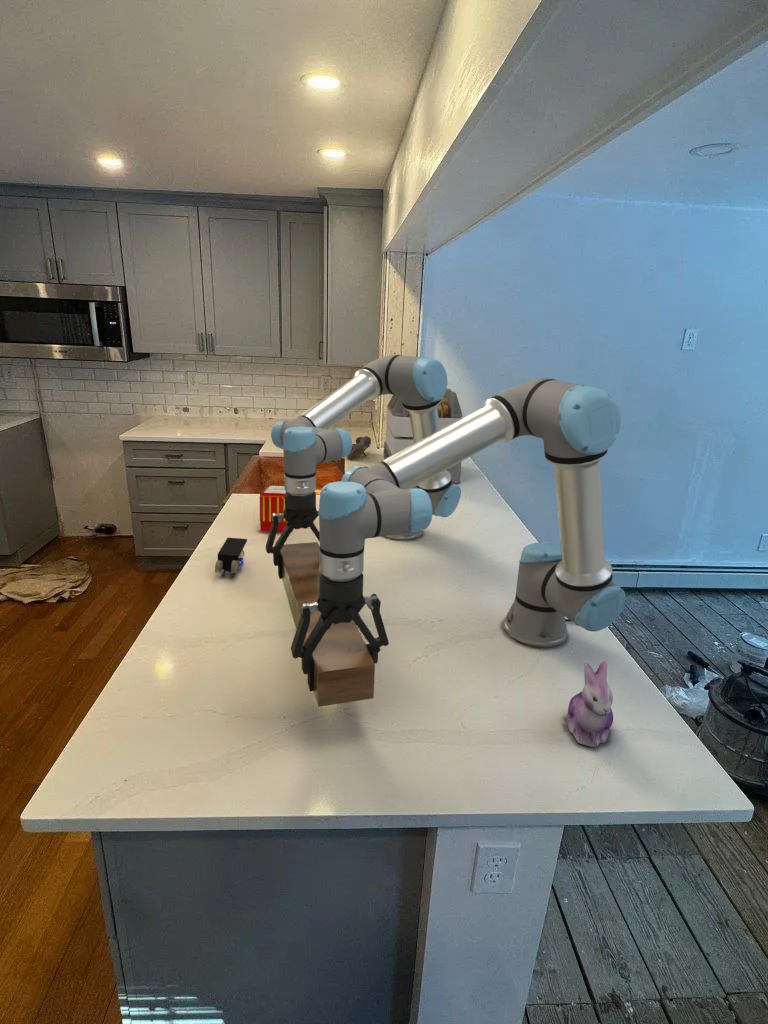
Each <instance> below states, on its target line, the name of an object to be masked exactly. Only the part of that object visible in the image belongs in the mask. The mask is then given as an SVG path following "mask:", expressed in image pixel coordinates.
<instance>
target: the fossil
mask: <svg viewBox="0 0 768 1024" xmlns="http://www.w3.org/2000/svg"><path fill="white" fill-rule="evenodd" d="M371 445H372V439H371V437H370V436H368V435H365V436H358V437H356V439H355V443H352V450H351V452H350V453H349V455H347V456H346V458H347V460H350V461H352V460H354V459H356V458H358V457H359V456H361V455H362V454H363V455H364V457H366V456H367V455H366V453H365V451H366V450H367V449H368V448H370V446H371Z"/></svg>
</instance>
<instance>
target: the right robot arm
mask: <svg viewBox="0 0 768 1024" xmlns="http://www.w3.org/2000/svg"><path fill="white" fill-rule="evenodd" d="M461 418H462V419H460V420H458V421H457V422H455V423H453V424H451V425H449V426H447V427H445V428H443V429H441V430H440V431H438V432H436V433H434V434H432V435H430V436H428V437H426V438H424V439H422V440H421V441H419V442H417V443H415V444H413V445H411V446H409V447H407V448H405V449H404V450H402V451H400V452H398V453H396V454H394V455H392V456H390V457H388V458H386V459H385V460H384V459H383V460H381V461H379V462H376V463H375V464H373V465H371V466H369V467H368V466H365V465H354V466H351V467H349V468H348V469H347V470H346V471H344V473H345V474H344V475H343V474H342V475H343V476H342V477H341V480H338V481H332V482H329V483H327V484H324V486H322V488H321V490H320V492H319V493H320V494H319V502H318V503H319V504H318V511H319V512H318V515H319V516H318V527H319V529H318V531H319V534H320V542H319V547H320V549H319V571H320V575H319V598H318V600H317V602H315V603H309V604H308V603H307V602H306V601H303V602H302V603H301V616H300V619H299V623H298V626H297V629H296V628H295V633H294V636H293V638H292V643H291V646H290V651H291V655H292V659H298V658H299V659H301V663H300V664H301V671H302V674H303V675H307V676H306V677H307V679H306V680H307V681H306V682H307V685H308V689H309V692H314V658H313V655H312V653H313V652H314V650H315V648H316V647H317V645H318V644H319V642H320V640H321V639H322V637H323V635H324V634H325V632H326V631H327V630H328V629H329V628H330V627H331V625H332V623H333V624H339V623H341V622H344V623H349V622H351V621H352V620H353V621H354V622H355V624H356V625H357V628H358V630H359V632H360V633H361V635H363V637H364V638H365V640H366V641H367V643H365V645H366V647H367V649H368V651H369V653H370V655H371V657H372V659H373V662H374V664H375V665H377V664H378V662H379V653H380V652H381V647H387V646H388V645H389V644H390V641H389V639H388V635H387V631H386V627H385V624H384V621H383V617H382V614H381V602H382V601H381V600H380V598H379V597H378V595H377V593H372V594H370V596H364V570H365V568H364V567H365V555H364V554H365V543H366V541H365V540H366V539H373V538H379V537H380V538H381V537H384V536H388V535H396V534H404V533H408V534H410V533H411V532H415V531H420V530H422V531H424V530H426V529H427V528H429V526H430V524H431V522H432V519H433V515H432V503H431V500H430V497H429V495H428V494H427V492H426V491H424V490H423V489H420V488H413V487H415V486H417V485H419V484H421V483H423V482H425V481H426V480H428V479H430V478H432V477H434V476H436V475H437V474H439V473H441V472H443V471H445V470H447V469H448V468H450V467H452V466H454V465H456V464H458V463H460V462H461V461H462V462H464V461H465V460H467V459H469V458H470V457H472V456H474V455H476V454H478V453H480V452H482V451H484V450H485V449H487V448H489V447H490V446H493V445H494V444H495V445H496V444H497V443H498V442H500V441H502V442H504V443H508V442H510V441H512V440H514V439H516V438H519V437H524V436H531V437H534V438H539V439H541V440H542V441H543V451H544V458H545V460H546V461H547V462H549V463H550V464H552V465H553V472H554V474H553V475H554V485H555V486H554V487H555V497H556V498H555V499H556V507H557V521H558V533H559V542H560V543H556V542H545V541H544V542H534V543H530V544H527V545H525V546H524V547H523V548H522V550H521V554H520V558H519V564H518V573H517V578H516V579H517V580H516V587H515V588H516V589H515V597H514V600H513V602H512V603H511V606H510V608H509V609H508V611H507V613H506V615H505V618H504V620H503V621H504V623H503V629H504V631H505V632H506V634H507V635H508V636H509V637H510V638H511V639H513V640H515V641H517V643H518V642H519V643H520V644H523V645H526V646H529V647H535V648H553V647H558V646H560V645H562V644H563V643H564V642H565V641H566V639H567V635H568V626H567V623H574V624H575V626H578V627H580V628H582V629H583V630H585V631H587V632H592V633H593V632H599V631H602V630H604V629H606V628H608V627H609V626H610V625H612V624H613V623H614V622H615V621H616V620H617V618H618V617H619V616H620V615H621V613H622V611H623V609H624V607H625V603H626V592H625V591H624V589H623V588H621V586H620V585H619V584H615V583H614V579H613V578H614V577H613V567H612V564H611V563H610V562H609V561H608V560H606V559H605V545H604V522H603V503H602V501H603V499H602V479H601V461H602V460H603V459H604V458H605V457H606V456H607V455H608V453H609V449H610V448H611V447H612V446H613V445H614V444H615V442H616V440H617V436H616V435H618V434H619V433H620V430H621V425H622V414H621V410H620V406H619V404H618V402H617V400H616V399H615V398H614V396H613V395H611V394H610V393H609V392H608V391H606V390H604V389H602V388H597V387H595V386H593V385H590V384H585V383H582V384H581V383H574V382H569V381H563V380H558V379H554V378H547V377H544V378H536V379H531V380H528V381H523V382H522V383H519V384H517V385H514V386H512V387H510V388H507V389H505V390H503V391H501V392H498V393H497V394H495V395H494V396H492V397H489V398H487V399H486V400H485V401H484V403H483V407H481V408H480V409H477V410H476V411H473V412H471V413H470V414H468V415H466V416H464V417H461ZM462 462H461V463H462ZM365 605H366V606H367V608H368V610H370V612H371V616H372V619H373V622H374V626H375V629H376V632H377V637H374V635H373V633H372V631H371V630H370V628H369V627H368V626H367V624H366V623H365V621H364V619H363V618H362V617H361V614H359V613H360V612H361V611H362V609H363V608H364V607H365ZM316 610H319V611H320V612H321V615H320V616H319V620H318V622H317V624H316V625H315V627H314V629H313V630H312V632H311V633H310V635H309V637H308V638H307V640H306V642H305V643H304V640H305V637H306V634H307V631H308V627H309V624H310V617H313V615H314V612H315V611H316ZM303 643H304V645H303ZM302 646H303V647H302Z"/></svg>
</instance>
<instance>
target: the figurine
mask: <svg viewBox="0 0 768 1024" xmlns="http://www.w3.org/2000/svg"><path fill="white" fill-rule="evenodd" d="M583 676H584V677H583V678H584V686H583V688H582V690H581V691H580V692H579V693H577V694H575V695H574V696H572V698H571V699H570V700H569V703H568V709H567V714H566V725H567V728H568V731H569V732H570V733H571V734H572V736H573V737H574V738H575V740H576V742H577V743H578V744H580V745H584V746H588V747H593V748H596V747H598V746H599V745H600V744H601V743H602V744H603V743H605V742H606V741H607V739H608V737H609V734H610V728H611V727H612V726H613V723H614V712H613V709H612V704H613V701H614V697H613V692H612V689H611V687H610V686H609V684H608V680H607V677H608V663H607V661H606V660H602V661H600V663H599V664H598V667H597V670H596V671H595V670H594V669H593V667H592V665H591V664H590V663H589V662H588V661H584V662H583Z"/></svg>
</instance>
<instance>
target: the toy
mask: <svg viewBox="0 0 768 1024" xmlns="http://www.w3.org/2000/svg"><path fill="white" fill-rule="evenodd" d="M285 493H286V491H285V487H284V485H270V486H268V488H267V489H265V490H264V492H259V526H260V528H259V529H260V531H259V532H270V529H271V525H272V522H273V520H272V514H273V513H277V514H280V513H283V512H284V510H285ZM286 524H287V521H286V520H285V519H284V518H283V519H282V520H281V522H280V523H279V525H278V530H277V533H278V532H279V533H282V532H283V530H284V528H285V526H286Z"/></svg>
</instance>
